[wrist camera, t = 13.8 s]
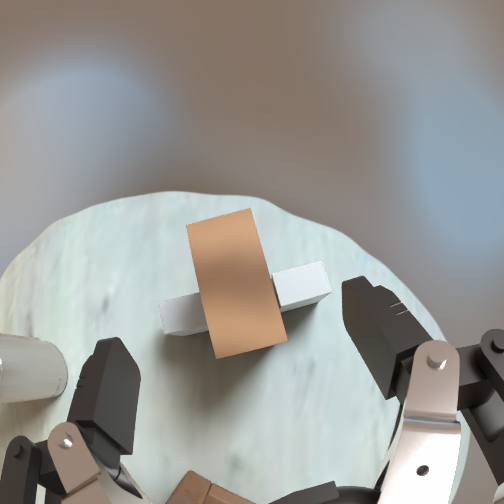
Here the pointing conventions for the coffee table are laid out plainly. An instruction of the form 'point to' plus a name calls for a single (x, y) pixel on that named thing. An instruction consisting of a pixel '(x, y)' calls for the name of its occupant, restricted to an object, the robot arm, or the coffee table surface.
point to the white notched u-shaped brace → (285, 287)
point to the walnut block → (235, 284)
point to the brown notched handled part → (202, 492)
